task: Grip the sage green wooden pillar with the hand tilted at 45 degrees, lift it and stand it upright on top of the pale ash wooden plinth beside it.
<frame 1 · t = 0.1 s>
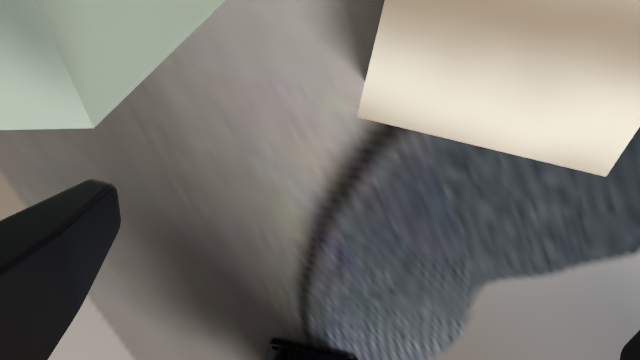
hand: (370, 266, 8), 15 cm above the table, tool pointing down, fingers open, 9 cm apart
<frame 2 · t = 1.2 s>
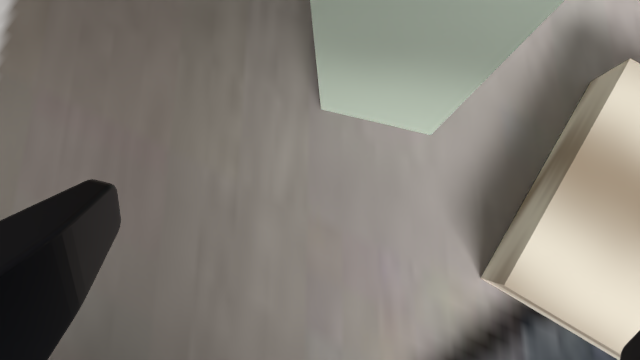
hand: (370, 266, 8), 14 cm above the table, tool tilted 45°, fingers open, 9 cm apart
pillar: (388, 68, 23), on the table
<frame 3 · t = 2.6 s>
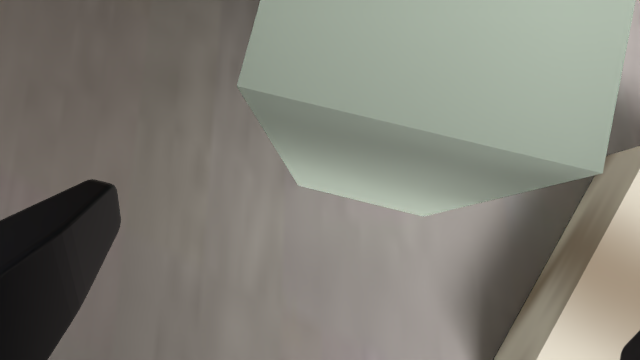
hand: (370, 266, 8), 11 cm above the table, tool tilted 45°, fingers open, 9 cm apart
pillar: (375, 139, 20), on the table
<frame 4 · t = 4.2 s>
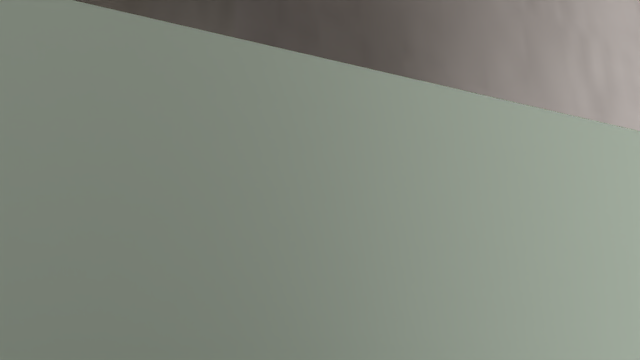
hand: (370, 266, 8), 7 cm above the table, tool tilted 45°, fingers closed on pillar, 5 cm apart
pillar: (342, 299, 15), on the table, touching gripper
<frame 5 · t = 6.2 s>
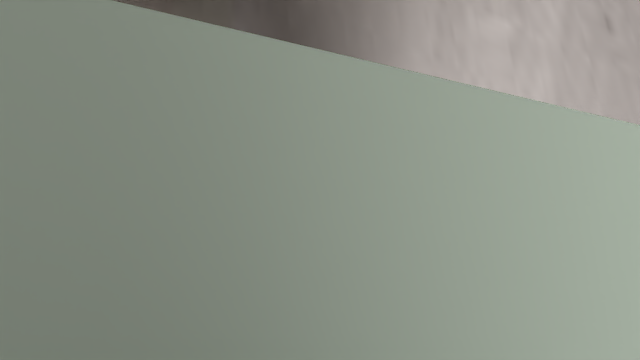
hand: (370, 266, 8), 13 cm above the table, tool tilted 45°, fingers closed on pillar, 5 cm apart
pillar: (347, 301, 15), point 7 cm above the table, touching gripper
when the fingers open (11 cm above the table, at t = 8.1 s): pillar drops 1 cm, resting on plinth.
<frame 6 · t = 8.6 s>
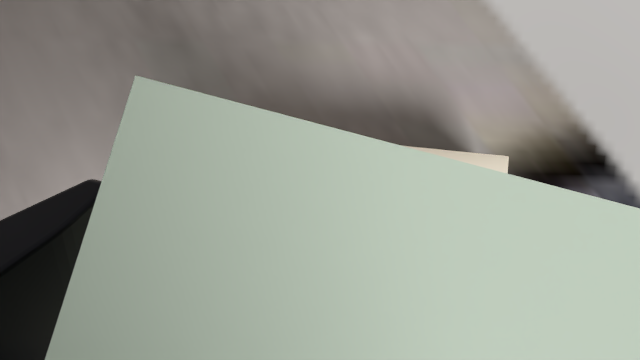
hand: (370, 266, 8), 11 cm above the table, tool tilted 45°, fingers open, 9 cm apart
plinth: (340, 283, 19), on the table
pillar: (341, 293, 16), point 3 cm above the table, touching plinth
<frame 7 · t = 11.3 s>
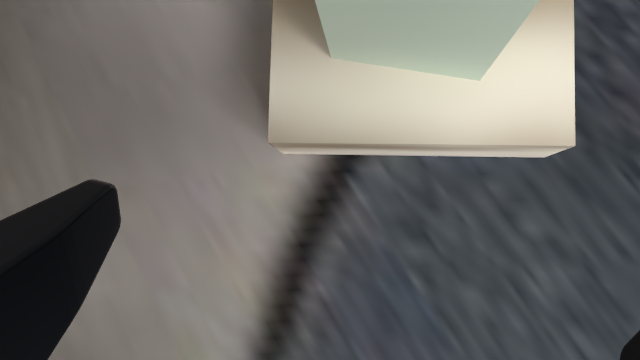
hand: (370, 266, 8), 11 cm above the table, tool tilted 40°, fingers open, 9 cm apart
plinth: (412, 30, 20), on the table
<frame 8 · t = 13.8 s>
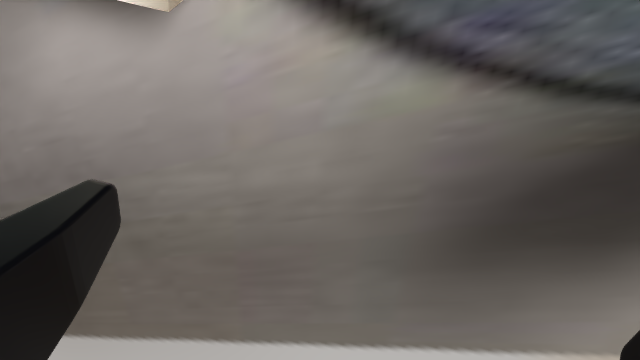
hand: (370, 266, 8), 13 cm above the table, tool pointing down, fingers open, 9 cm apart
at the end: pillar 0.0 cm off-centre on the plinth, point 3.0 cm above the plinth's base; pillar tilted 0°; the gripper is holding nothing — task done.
